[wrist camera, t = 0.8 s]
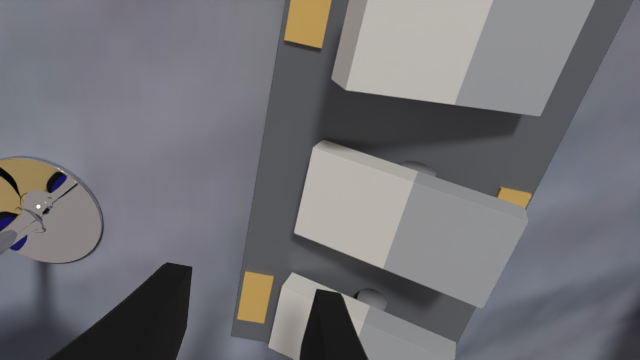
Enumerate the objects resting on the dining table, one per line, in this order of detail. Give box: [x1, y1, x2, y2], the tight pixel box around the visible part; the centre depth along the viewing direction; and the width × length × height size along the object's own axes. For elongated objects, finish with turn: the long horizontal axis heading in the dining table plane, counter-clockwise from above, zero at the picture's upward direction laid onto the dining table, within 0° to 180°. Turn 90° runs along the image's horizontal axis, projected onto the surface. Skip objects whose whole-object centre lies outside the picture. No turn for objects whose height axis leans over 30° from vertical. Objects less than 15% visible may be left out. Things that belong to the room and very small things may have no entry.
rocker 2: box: [294, 140, 529, 309], centre depth 16 cm, size 8×4×3 cm, turn 78°
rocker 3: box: [268, 272, 456, 360], centre depth 19 cm, size 8×4×3 cm, turn 78°
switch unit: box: [231, 0, 633, 345], centre depth 19 cm, size 12×20×3 cm, turn 168°
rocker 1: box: [331, 0, 595, 116], centre depth 13 cm, size 8×4×2 cm, turn 78°
